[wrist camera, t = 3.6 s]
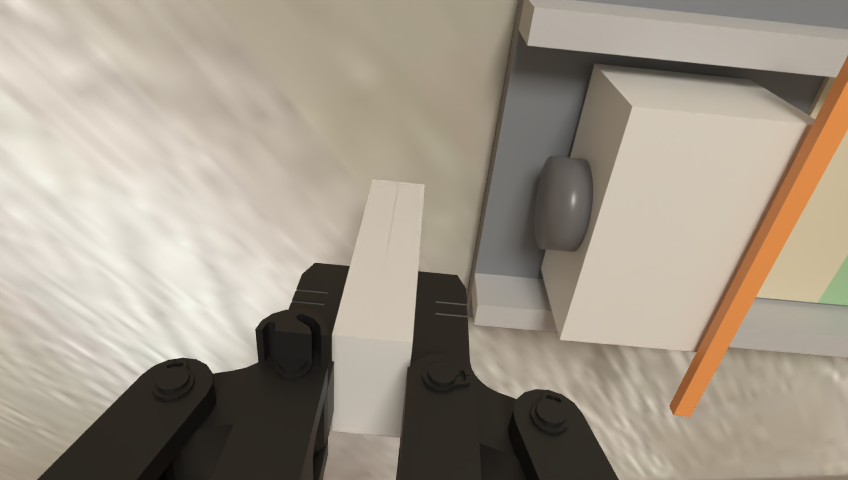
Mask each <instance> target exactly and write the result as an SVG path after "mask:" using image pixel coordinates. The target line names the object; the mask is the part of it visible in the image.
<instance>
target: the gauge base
mask: <svg viewBox="0 0 848 480" xmlns="http://www.w3.org/2000/svg"><path fill="white" fill-rule="evenodd" d="M847 56H848V0H519V2H518V8H517V14H516V19H515V25H514V31H513V37H512V42H511V48H510V54H509V59H508V65H507V71H506V77H505V82H504V88H503V94H502V99H501V105H500V111H499V117H498V122H497V128H496V134H495V139H494V145H493V151H492V156H491V162H490V168H489V174H488V179H487V185H486V191H485V196H484V202H483V208H482V214H481V219H480V225H479V231H478V236H477V242H476V248H475V254H474V259H473V265H472V271H471V276H470V282H469V288H468V293H467V316H472V317H473V319H474V325H481V326H492V327H504V328H515V329H527V330H538V331H549V332H557V328H556V324H555V320H554V317H553V313H552V309H551V305H550V302H549V298H548V294H547V290H546V287H545V283H544V279H543V275H542V271H541V266H542V263H543V259H544V255H545V251H546V249H540V248H539V247H538V245H537V242H536V237H535V228H534V213H535V201H536V194H537V188H538V183H539V179H540V175H541V172H542V169H543V167H544V164H545V162H546V160H547V159H548V158H549V157H550V156H559V157H569V158H570V155H571V152H572V148H573V144H574V140H575V136H576V132H577V129H578V125H579V121H580V117H581V113H582V109H583V106H584V102H585V98H586V94H587V90H588V86H589V83H590V79H591V75H592V71H593V67H594V64H604V65H614V66H623V67H633V68H643V69H653V70H662V71H672V72H682V73H691V74H701V75H711V76H721V77H730V78H740V79H750V80H752V81H753V82H755V83H757V84H758V85H760V86H762V87H763V88H765V89H767V90H768V91H770V92H771V93H773V94H775V95H776V96H778V97H780V98H781V99H783V100H784V101H786V102H788V103H789V104H791V105H793V106H794V107H796V108H797V109H799V110H801V111H802V112H804V113H806V114H807V115H809V116H810V117H812V118H814V119H816V117H817V115H818V113H819V111H820V109H821V107H822V105H823V103H824V101H825V99H826V97H827V95H828V93H829V91H830V89H831V87H832V85H833V83H834V81H835V79H836V77H837V75H838V73H839V71H840V69H841V67H842V65H843V64H844V62H845V60H846V58H847ZM729 347H732V348H744V349H755V350H767V351H778V352H789V353H801V354H812V355H824V356H835V357H847V358H848V130H847V132H846V133H845V135H844V137H843V139H842V141H841V143H840V144H839V146H838V148H837V150H836V152H835V154H834V155H833V157H832V159H831V161H830V163H829V164H828V166H827V168H826V170H825V172H824V174H823V175H822V177H821V179H820V181H819V183H818V185H817V186H816V188H815V190H814V192H813V194H812V195H811V197H810V199H809V201H808V203H807V205H806V206H805V208H804V210H803V212H802V214H801V216H800V217H799V219H798V221H797V223H796V225H795V226H794V228H793V230H792V232H791V234H790V236H789V237H788V239H787V241H786V243H785V245H784V247H783V248H782V250H781V252H780V254H779V256H778V257H777V259H776V261H775V263H774V265H773V267H772V268H771V270H770V272H769V274H768V276H767V278H766V279H765V281H764V283H763V285H762V287H761V288H760V290H759V292H758V294H757V296H756V298H755V299H754V301H753V303H752V305H751V307H750V309H749V310H748V312H747V314H746V316H745V318H744V319H743V321H742V323H741V325H740V327H739V329H738V330H737V332H736V334H735V336H734V338H733V340H732V341H731V343H730V345H729Z"/></svg>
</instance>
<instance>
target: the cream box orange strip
mask: <svg viewBox="0 0 848 480" xmlns="http://www.w3.org/2000/svg"><path fill="white" fill-rule="evenodd" d="M847 130H848V56H847V58H846V60H845V62H844V64H843V65H842V67H841V69H840V71H839V73H838V75H837V77H836V79H835V81H834V83H833V85H832V87H831V89H830V91H829V93H828V95H827V97H826V99H825V101H824V103H823V105H822V107H821V109H820V111H819V113H818V115H817V117H816V119H814V118H812V117H810V116H809V115H807V114H806V113H804V112H802V111H801V110H799V109H797V108H796V107H794V106H793V105H791V104H789V103H788V102H786V101H784V100H783V99H781V98H780V97H778V96H776V95H775V94H773V93H771V92H770V91H768V90H767V89H765V88H763V87H762V86H760V85H758V84H757V83H755V82H753V81H752V80H750V79H740V78H730V77H721V76H711V75H701V74H691V73H682V72H672V71H662V70H653V69H643V68H633V67H623V66H614V65H604V64H594V67H593V71H592V75H591V79H590V83H589V86H588V90H587V94H586V98H585V102H584V106H583V109H582V113H581V117H580V121H579V125H578V129H577V132H576V136H575V140H574V144H573V148H572V152H571V155H570V158H569V157H559V156H550V157H549V158H548V159H547V160H546V162H545V164H544V167H543V169H542V172H541V175H540V179H539V183H538V188H537V194H536V201H535V213H534V228H535V237H536V242H537V245H538V247H539V248H540V249H546V251H545V255H544V259H543V263H542V266H541V271H542V275H543V279H544V283H545V287H546V290H547V294H548V298H549V302H550V305H551V309H552V313H553V317H554V320H555V324H556V328H557V332H558V335H559V339H560V340H567V341H579V342H590V343H601V344H613V345H624V346H636V347H647V348H659V349H670V350H682V351H693V352H697V353H696V355H695V357H694V359H693V361H692V363H691V365H690V366H689V368H688V370H687V372H686V374H685V376H684V378H683V380H682V382H681V384H680V386H679V388H678V390H677V392H676V394H675V396H674V398H673V400H672V402H671V404H670V409H671V411H672V413H673V415H676V416H688V417H690V416H691V414H692V412H693V411H694V409H695V407H696V405H697V403H698V402H699V400H700V398H701V396H702V394H703V392H704V391H705V389H706V387H707V385H708V383H709V381H710V380H711V378H712V376H713V374H714V372H715V371H716V369H717V367H718V365H719V363H720V361H721V360H722V358H723V356H724V354H725V352H726V350H727V349H728V347H729V345H730V343H731V341H732V340H733V338H734V336H735V334H736V332H737V330H738V329H739V327H740V325H741V323H742V321H743V319H744V318H745V316H746V314H747V312H748V310H749V309H750V307H751V305H752V303H753V301H754V299H755V298H756V296H757V294H758V292H759V290H760V288H761V287H762V285H763V283H764V281H765V279H766V278H767V276H768V274H769V272H770V270H771V268H772V267H773V265H774V263H775V261H776V259H777V257H778V256H779V254H780V252H781V250H782V248H783V247H784V245H785V243H786V241H787V239H788V237H789V236H790V234H791V232H792V230H793V228H794V226H795V225H796V223H797V221H798V219H799V217H800V216H801V214H802V212H803V210H804V208H805V206H806V205H807V203H808V201H809V199H810V197H811V195H812V194H813V192H814V190H815V188H816V186H817V185H818V183H819V181H820V179H821V177H822V175H823V174H824V172H825V170H826V168H827V166H828V164H829V163H830V161H831V159H832V157H833V155H834V154H835V152H836V150H837V148H838V146H839V144H840V143H841V141H842V139H843V137H844V135H845V133H846V132H847Z"/></svg>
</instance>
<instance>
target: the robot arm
mask: <svg viewBox="0 0 848 480" xmlns="http://www.w3.org/2000/svg"><path fill="white" fill-rule="evenodd" d="M423 199H424V185H423V184H413V183H403V182H393V181H383V180H372V184H371V188H370V192H369V196H368V199H367V203H366V207H365V211H364V215H363V219H362V222H361V226H360V230H359V234H358V238H357V241H356V245H355V249H354V253H353V257H352V261H351V264H350V266H343V265H333V264H322V263H314V264H313V265H312V266H311V267H310V268H309V269H308V270H306V271H305V272H304V273H303V274H302V276H301V278H300V281H299V284H298V286H297V291H295V294H294V297H293V299H292V303H291V305H290V307H289V310H284V311H280V312H277V313H273V314H271V315H270V316H268V317H267V318H265V319H263V320H262V321H261V322H260V324H259V325H258V326H257V328H256V329H255V330H256V341H257V351H258V361H259V362H258V363H256V364H254V365H251V366H249V367H247V368H243V369H239V370H234V371H228V372H221V373H215V374H212V372H211V370H210V369H209V367H208V366H207V365H206V364H204V363H202V362H200V361H198V360H197V359H189V358H179V359H172V360H167V361H165V362H162V363H160V364H157V365H155V366H153V367H152V368H150V369H149V370H148V371H146V372H145V373H144V374H142V375H141V376H140V377H139V378H138V379H137V380H136V381H135V382H134V383H133V384H132V385H131V386H130V387H129V388H128V389H127V390H126V391H125V392H124V393H123V394H122V395H121V396H120V397H119V398H118V399H117V400H116V401H115V402H114V403H113V404H112V405H111V406H110V407H109V408H108V409H107V410H106V411H105V412H104V413H103V414H102V415H101V416H100V417H99V418H98V419H97V420H96V421H95V422H94V423H93V424H92V425H91V426H90V427H89V428H88V429H87V430H86V431H85V432H84V433H83V434H82V435H81V436H80V437H79V438H78V439H77V440H76V441H75V442H74V443H73V444H72V445H71V446H70V447H69V448H68V449H67V450H66V451H65V452H64V453H63V454H62V455H61V456H60V457H59V458H58V459H57V460H56V461H55V462H54V463H53V464H52V465H51V466H50V467H49V468H48V469H47V470H46V471H45V472H44V473H43V474H42V475H41V476H40V477H39V478H38V480H323V475H324V470H325V466H326V461H327V456H328V435H329V431H330V426H331V422H332V431H336V432H347V433H358V434H369V435H380V436H391V437H401V438H400V448H399V457H398V467H397V476H396V480H619V479H618V478H617V476H616V474H615V472H614V470H613V468H612V467H611V465H610V463H609V461H608V459H607V457H606V456H605V454H604V452H603V450H602V448H601V446H600V445H599V443H598V441H597V439H596V437H595V436H594V434H593V432H592V430H591V428H590V426H589V425H588V423H587V421H586V419H585V417H584V415H583V414H582V412H581V411H580V410H579V409H578V407H577V406H576V405H575V403H573V402H572V401H571V400H569V399H568V398H566V397H565V396H563V395H562V394H559V393H556V392H553V391H550V390H540V389H535V390H532V391H528V392H524V393H523V394H522V395H521V396H520V397H519V398H518V399H514V398H512V397H509V396H506V395H503V394H501V393H498V392H496V391H494V390H492V389H490V388H489V387H487V386H486V385H484V384H483V383H482V382H481V381H480V380H479V379H478V378H477V377H476V376H475V374H474V372H473V370H472V368H471V364H470V354H469V335H468V318H467V296H466V288H465V286H464V285H463V283H462V282H461V280H460V279H459V277H458V276H457V275H450V274H440V273H430V272H419V271H418V265H419V252H420V238H421V225H422V212H423Z"/></svg>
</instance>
